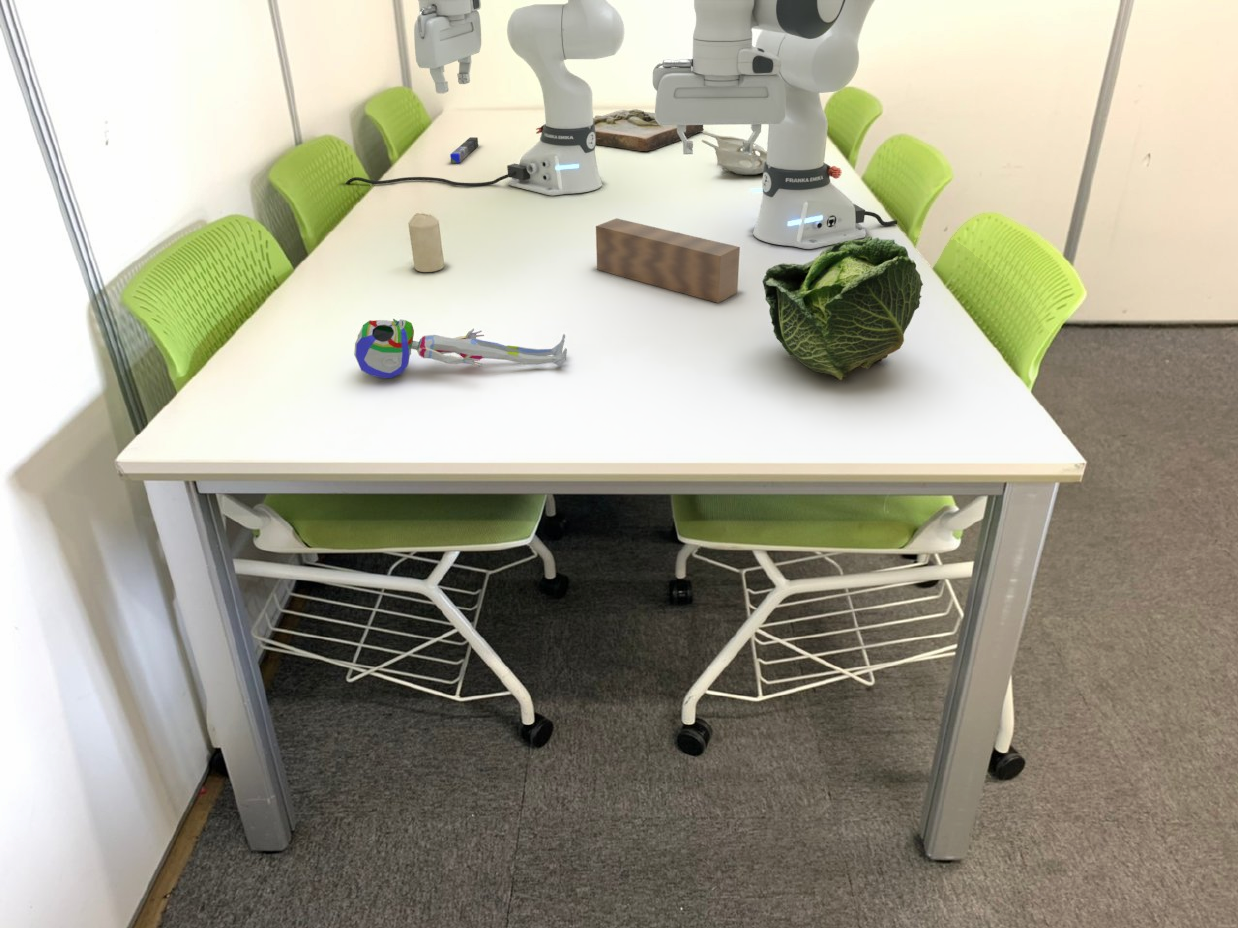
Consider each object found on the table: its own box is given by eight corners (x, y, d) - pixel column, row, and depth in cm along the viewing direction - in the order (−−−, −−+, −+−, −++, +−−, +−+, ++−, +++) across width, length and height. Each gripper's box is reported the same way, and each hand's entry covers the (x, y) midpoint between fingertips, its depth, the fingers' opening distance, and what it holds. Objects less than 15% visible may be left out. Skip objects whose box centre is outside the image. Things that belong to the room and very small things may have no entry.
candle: (449, 263, 170) (443, 211, 164) (435, 273, 165) (428, 220, 160) (423, 261, 171) (416, 208, 166) (409, 270, 167) (401, 217, 161)
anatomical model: (704, 128, 226) (804, 127, 222) (703, 165, 231) (801, 165, 227) (699, 142, 214) (805, 141, 210) (699, 181, 219) (803, 181, 215)
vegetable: (793, 390, 139) (734, 280, 131) (892, 320, 140) (840, 208, 132) (858, 421, 121) (795, 296, 113) (972, 341, 122) (917, 212, 114)
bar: (596, 269, 166) (595, 226, 162) (617, 261, 170) (616, 218, 166) (718, 303, 152) (720, 256, 147) (737, 293, 156) (740, 247, 151)
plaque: (647, 125, 237) (559, 112, 252) (647, 153, 241) (560, 139, 256) (706, 107, 258) (622, 97, 273) (705, 133, 262) (622, 121, 277)
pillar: (477, 137, 250) (458, 155, 233) (478, 145, 251) (458, 163, 234) (469, 137, 250) (449, 154, 233) (470, 145, 251) (450, 163, 235)
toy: (569, 347, 126) (349, 329, 122) (563, 400, 131) (350, 385, 126) (565, 318, 135) (359, 301, 130) (559, 369, 139) (360, 354, 134)
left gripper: (435, 9, 145) (445, 99, 153) (484, -3, 162) (491, 79, 169) (399, 8, 147) (411, 98, 154) (452, -4, 163) (460, 78, 171)
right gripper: (652, 63, 133) (652, 158, 140) (791, 61, 132) (783, 157, 140) (652, 56, 138) (652, 149, 146) (785, 55, 138) (778, 148, 145)
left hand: (453, 88), depth 162 cm, fingers open, 8 cm apart
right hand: (717, 153), depth 143 cm, fingers open, 8 cm apart
